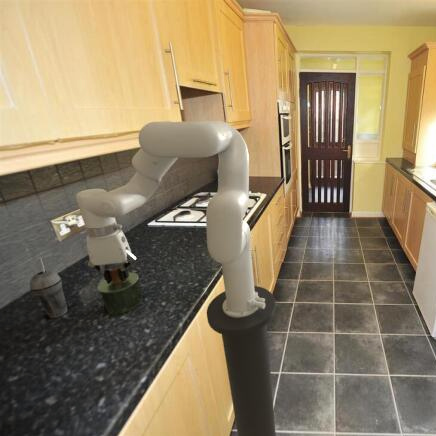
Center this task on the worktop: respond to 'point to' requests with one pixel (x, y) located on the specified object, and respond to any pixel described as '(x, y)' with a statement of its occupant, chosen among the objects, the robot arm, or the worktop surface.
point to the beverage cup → (49, 292)
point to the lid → (117, 281)
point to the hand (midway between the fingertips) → (118, 280)
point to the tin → (123, 299)
